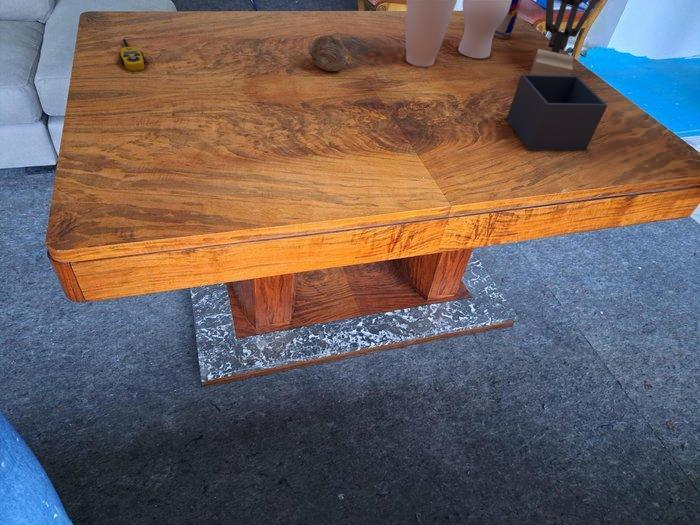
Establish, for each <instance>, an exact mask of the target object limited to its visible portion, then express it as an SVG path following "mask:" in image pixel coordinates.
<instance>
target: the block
mask: <svg viewBox="0 0 700 525" xmlns="http://www.w3.org/2000/svg"><path fill="white" fill-rule="evenodd" d="M573 67H574V56H573V55H569V54H564V53H560V52H559V53H555V52H551V50H546V49H540V48H538V49H537V51H536V54H535V57H534V59H533V63H532V65H531V69H530V71H529V73H528V75H563V76H572V73H573V69H574V68H573Z"/></svg>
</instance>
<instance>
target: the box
mask: <svg viewBox="0 0 700 525" xmlns="http://www.w3.org/2000/svg"><path fill="white" fill-rule="evenodd" d="M607 108H608V104H607V103H606V102H605V101H604V100H603V99H602V98H601V97H600V96H599V95H598V94H597V93H596V92H595V91H594V90H593V89H592V88H591V87H590V86H588V85H587V83H585V81H584V80H582V78H580V76H578V75H570V76H563V75H529V74H520V77H519V80H518V82H517V86H516V88H515V92H514V95H513V98H512V101H511V104H510V107H509V110H508V112H507V116H506V120H507V122H508V123H509V125H510V126H511V127H512V128H513V130H514V131H515V133H516V134H517V136H518V137H519V139H520V140H521V141H522V143H523V144H524V145H525V148H527V150H528V151H587V149H588V147H589V145H590V143H591V141H592V139H593V137H594V134H596V133H595V132H596V130H597V128H598V127H599V124H600V122H601V120H602V118H603V116H604V114H605V111H606V109H607Z"/></svg>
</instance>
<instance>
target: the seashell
mask: <svg viewBox="0 0 700 525" xmlns="http://www.w3.org/2000/svg"><path fill="white" fill-rule="evenodd" d="M307 50H308V53H309V55H310V56H311V62H312V63H313V64H314V65H315V66H316V67H317V68H318V69H321V70H323V71H328V72H338V71H340V70H342V69H343V68H344V67H345V65H346V63H347V58H346V55H345V52H344V48H343V44H342V43H341V41H339V39H337V38H335V37H333V36H332V35H326V36H325V35H324V36H320V37H318V38H316V39H315V40H314V41H313V42H312V43H311V44H309V45H308V46H307Z"/></svg>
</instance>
